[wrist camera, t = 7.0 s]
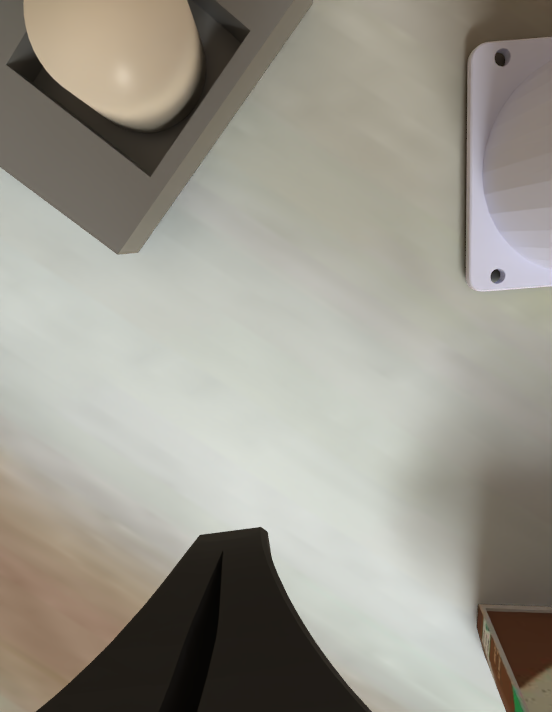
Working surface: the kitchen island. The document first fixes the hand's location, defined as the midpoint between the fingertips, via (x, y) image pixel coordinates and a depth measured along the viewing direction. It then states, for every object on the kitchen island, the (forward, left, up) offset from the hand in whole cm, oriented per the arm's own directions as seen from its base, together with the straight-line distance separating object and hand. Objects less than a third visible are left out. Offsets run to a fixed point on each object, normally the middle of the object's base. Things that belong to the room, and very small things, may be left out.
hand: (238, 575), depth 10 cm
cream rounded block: (+2, -12, -9) cm, 15 cm away
